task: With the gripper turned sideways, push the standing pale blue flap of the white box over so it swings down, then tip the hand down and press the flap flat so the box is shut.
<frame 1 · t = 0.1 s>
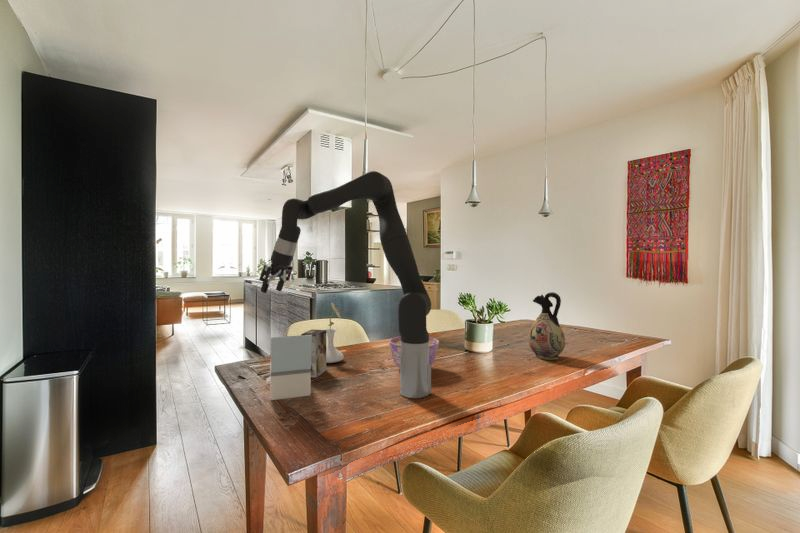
hand: (271, 291, 135), 31 cm above the table, tool tilted 20°, fingers open, 8 cm apart
coffee box: (314, 374, 137), on the table
lid: (291, 353, 111), point 14 cm above the table, hinge at 99.0°
ceramic jug: (547, 358, 162), on the table
purple patterned bowl: (413, 370, 143), on the table
crate: (289, 391, 118), on the table
flower in vase: (330, 361, 154), on the table
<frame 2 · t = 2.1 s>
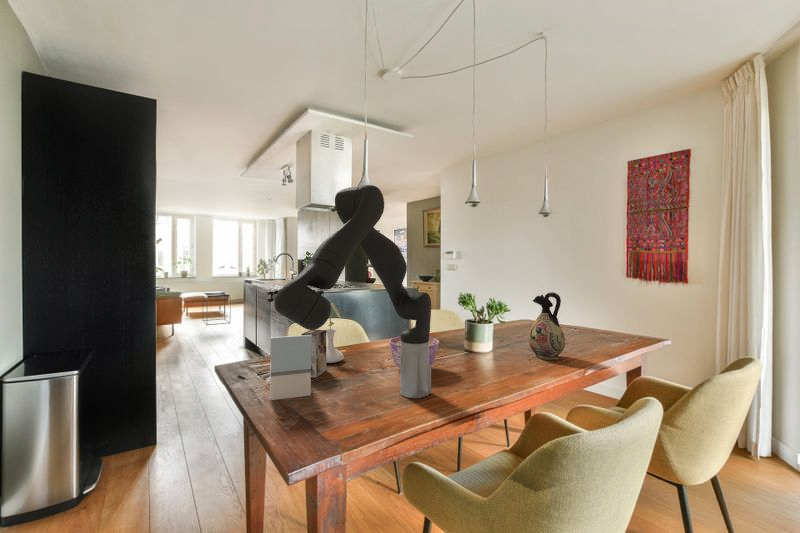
hand: (294, 293, 100), 34 cm above the table, tool horizontal, fingers open, 8 cm apart
nothing on the table moved.
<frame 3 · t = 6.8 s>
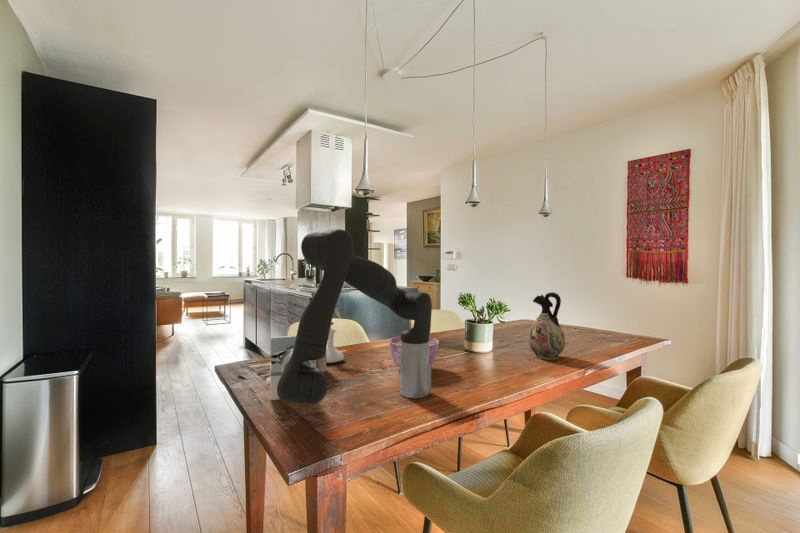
hand: (291, 350, 111), 15 cm above the table, tool horizontal, fingers closed
lid: (291, 353, 111), point 14 cm above the table, hinge at 99.0°, touching gripper
everything else where it was.
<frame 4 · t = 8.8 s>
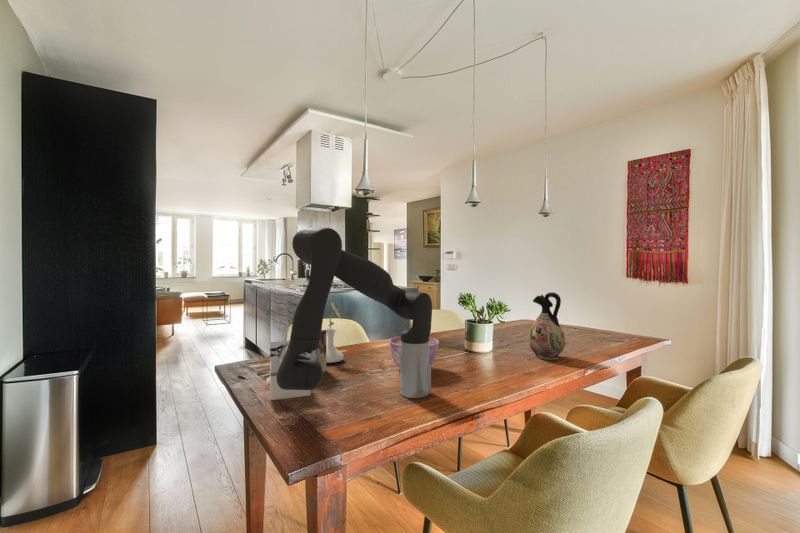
hand: (289, 344, 118), 15 cm above the table, tool horizontal, fingers closed
lid: (290, 354, 116), point 13 cm above the table, hinge at 37.3°
everything else where it was.
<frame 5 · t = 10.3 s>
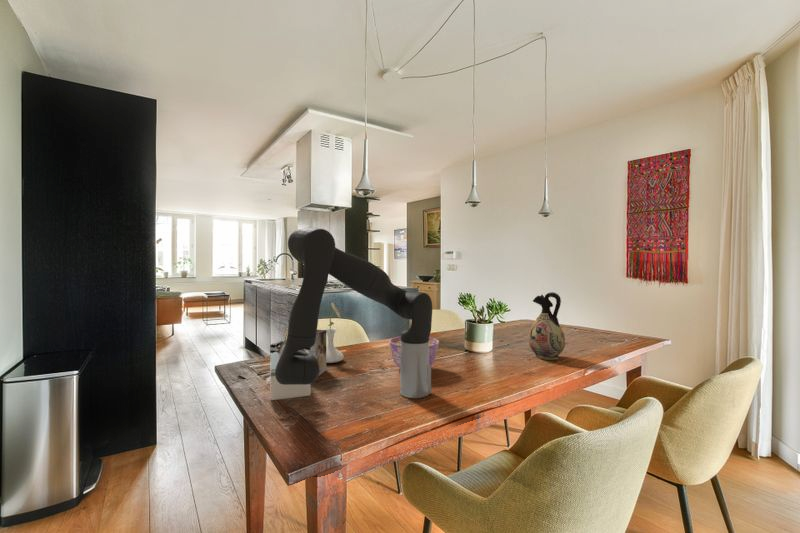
hand: (288, 341, 122), 16 cm above the table, tool horizontal, fingers closed
lid: (290, 356, 117), point 12 cm above the table, hinge at 26.7°, touching gripper
everything else where it was.
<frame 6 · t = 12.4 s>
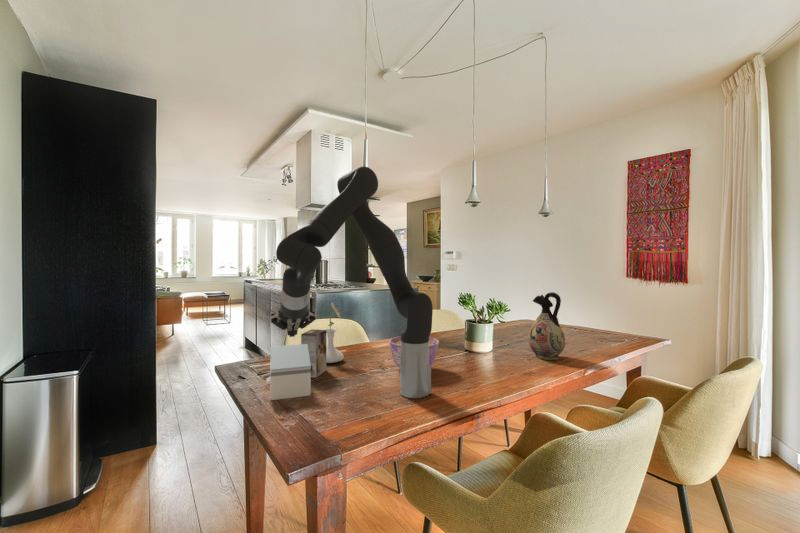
hand: (291, 334, 110), 21 cm above the table, tool tilted 45°, fingers closed
lid: (290, 356, 117), point 12 cm above the table, hinge at 26.0°
everything else where it was.
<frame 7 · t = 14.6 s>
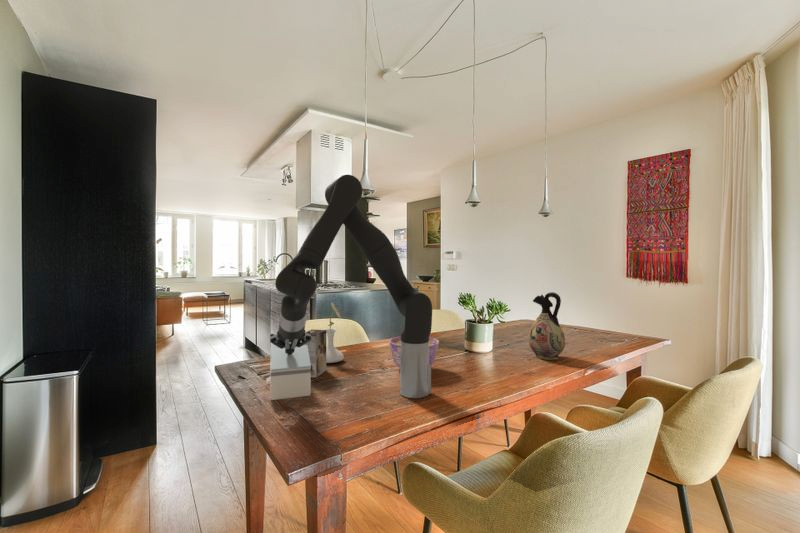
hand: (289, 352, 119), 13 cm above the table, tool tilted 45°, fingers closed
lid: (290, 357, 117), point 12 cm above the table, hinge at 23.6°, touching gripper
everything else where it was.
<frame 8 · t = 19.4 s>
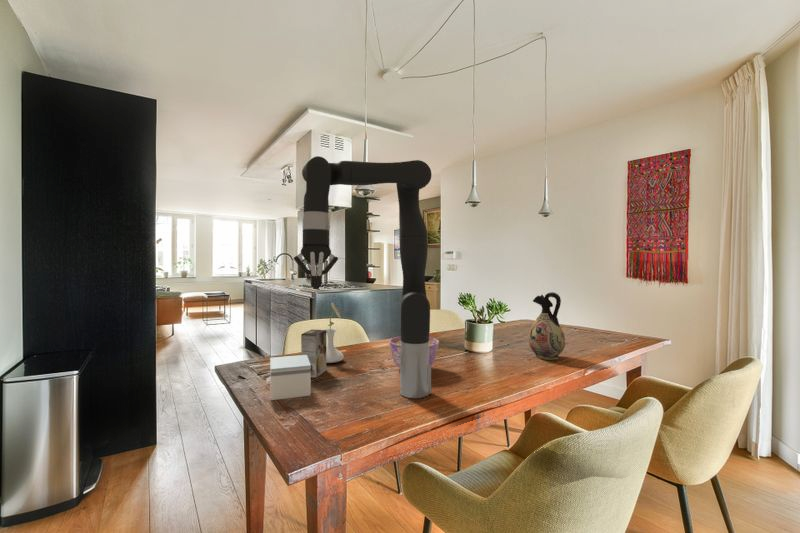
hand: (315, 288, 104), 35 cm above the table, tool pointing down, fingers closed
lid: (289, 362, 118), point 10 cm above the table, hinge at 3.5°
everything else where it was.
at the end: lid at +4° (first picture: +99°) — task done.
